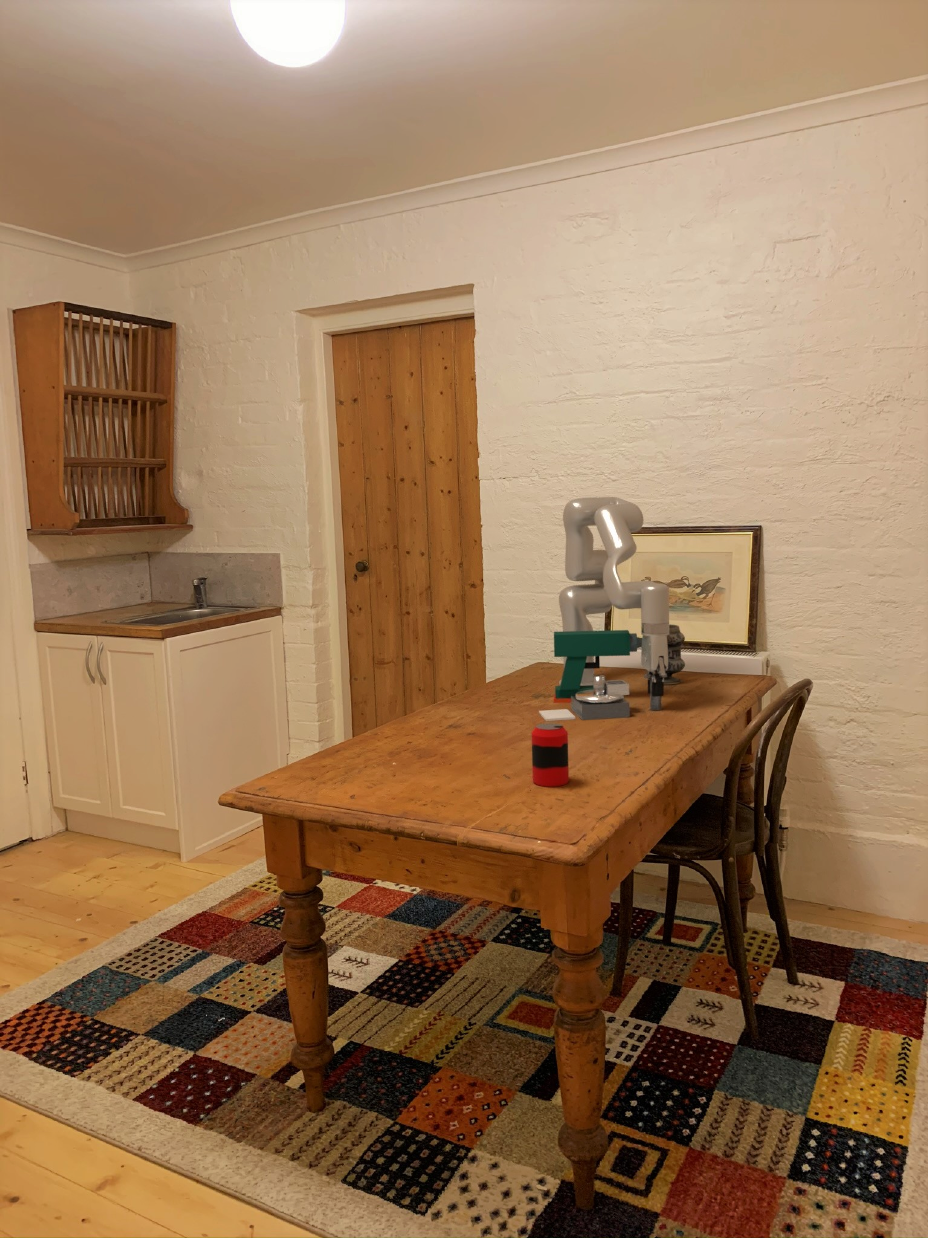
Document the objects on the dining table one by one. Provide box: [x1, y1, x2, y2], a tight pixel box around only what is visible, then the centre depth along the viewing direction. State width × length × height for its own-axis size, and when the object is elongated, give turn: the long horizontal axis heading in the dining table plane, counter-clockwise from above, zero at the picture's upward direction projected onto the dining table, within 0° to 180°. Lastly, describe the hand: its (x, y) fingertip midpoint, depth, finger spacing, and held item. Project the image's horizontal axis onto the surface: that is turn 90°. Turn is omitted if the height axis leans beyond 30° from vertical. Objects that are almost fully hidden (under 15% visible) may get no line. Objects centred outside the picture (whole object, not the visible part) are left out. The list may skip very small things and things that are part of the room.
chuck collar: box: [576, 674, 630, 703], centre depth 261 cm, size 13×14×6 cm
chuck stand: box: [570, 695, 630, 721], centre depth 262 cm, size 13×13×4 cm
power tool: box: [553, 629, 642, 704], centre depth 278 cm, size 32×7×20 cm, turn 84°
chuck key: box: [643, 673, 667, 711], centre depth 263 cm, size 3×6×10 cm, turn 97°
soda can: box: [531, 722, 570, 788], centre depth 200 cm, size 8×8×12 cm
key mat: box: [538, 708, 576, 722], centre depth 261 cm, size 10×8×1 cm
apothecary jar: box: [658, 623, 686, 686], centre depth 301 cm, size 12×12×18 cm
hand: (655, 694), depth 264 cm, fingers closed on chuck key, 3 cm apart
